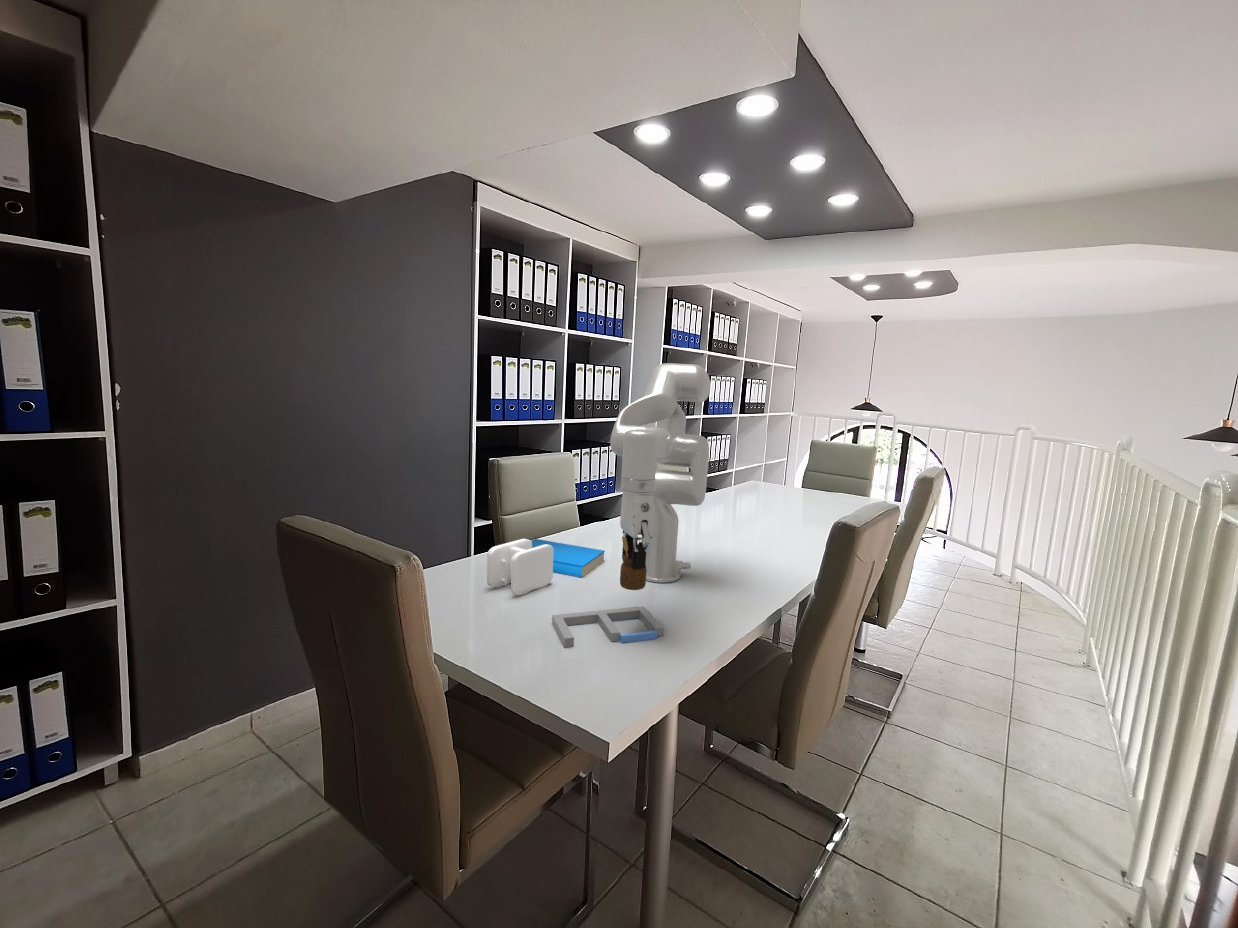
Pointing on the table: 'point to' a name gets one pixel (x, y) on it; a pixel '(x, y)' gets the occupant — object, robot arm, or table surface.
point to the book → (572, 558)
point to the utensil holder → (631, 572)
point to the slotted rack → (608, 624)
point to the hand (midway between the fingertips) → (633, 563)
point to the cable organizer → (520, 566)
